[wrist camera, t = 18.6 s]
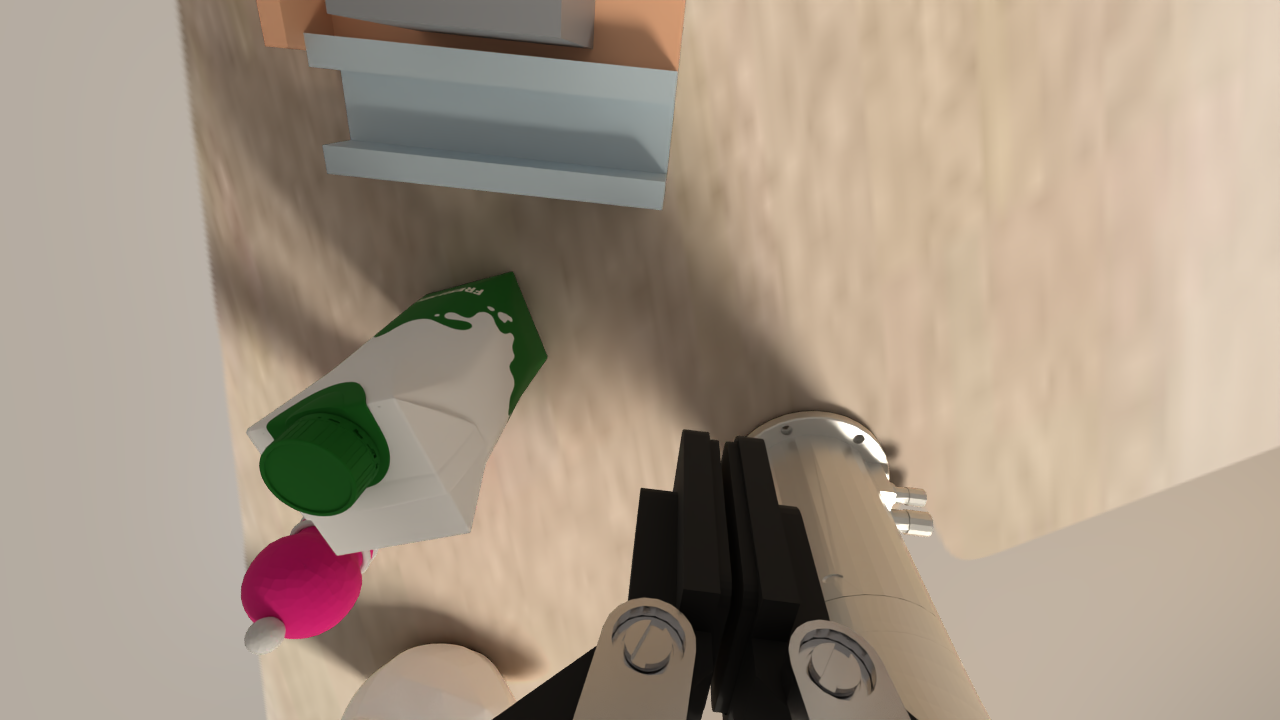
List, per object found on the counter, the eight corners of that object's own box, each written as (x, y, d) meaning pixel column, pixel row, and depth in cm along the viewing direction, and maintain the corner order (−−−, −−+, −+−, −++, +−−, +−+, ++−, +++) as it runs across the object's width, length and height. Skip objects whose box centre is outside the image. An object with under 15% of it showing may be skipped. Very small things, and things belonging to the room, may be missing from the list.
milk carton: (520, 255, 38) (373, 410, 20) (563, 366, 41) (473, 579, 24) (409, 285, 39) (184, 453, 22) (461, 389, 43) (306, 604, 25)
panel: (419, 31, 31) (327, 13, 23) (415, -20, 30) (316, -57, 22) (593, 49, 31) (560, 37, 23) (595, -2, 29) (562, -32, 22)
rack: (706, -184, 27) (711, -244, 22) (664, 197, 35) (661, 215, 30) (285, -223, 27) (198, -290, 22) (344, 162, 36) (291, 175, 31)
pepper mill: (362, 406, 45) (150, 620, 27) (434, 378, 43) (257, 588, 25) (412, 471, 47) (249, 704, 30) (481, 448, 46) (352, 680, 28)
